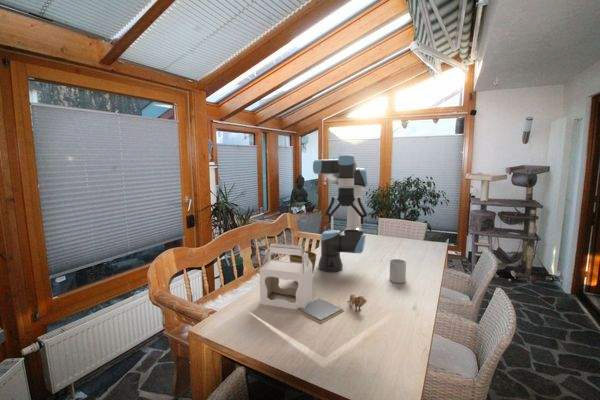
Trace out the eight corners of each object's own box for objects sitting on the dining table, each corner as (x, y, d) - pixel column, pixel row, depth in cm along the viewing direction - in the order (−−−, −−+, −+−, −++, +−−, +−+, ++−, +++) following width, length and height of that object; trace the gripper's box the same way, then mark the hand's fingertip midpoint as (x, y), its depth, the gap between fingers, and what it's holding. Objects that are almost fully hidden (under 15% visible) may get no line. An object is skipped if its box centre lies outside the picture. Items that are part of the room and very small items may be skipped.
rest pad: (295, 310, 128) (295, 308, 128) (318, 300, 138) (318, 297, 138) (321, 323, 117) (321, 320, 117) (343, 310, 127) (343, 308, 127)
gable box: (259, 304, 135) (258, 246, 132) (271, 293, 147) (270, 239, 144) (304, 311, 128) (304, 250, 125) (313, 299, 140) (312, 242, 137)
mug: (402, 284, 156) (403, 264, 155) (387, 281, 161) (387, 261, 160) (409, 277, 165) (409, 259, 164) (394, 274, 170) (395, 256, 169)
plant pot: (284, 283, 159) (283, 255, 157) (302, 275, 170) (302, 249, 168) (304, 290, 149) (303, 260, 147) (321, 282, 160) (321, 254, 158)
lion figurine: (367, 312, 125) (368, 296, 125) (359, 315, 124) (360, 299, 123) (350, 301, 136) (351, 287, 135) (343, 303, 134) (343, 288, 133)
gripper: (319, 187, 139) (319, 230, 142) (372, 188, 132) (371, 233, 135) (322, 186, 146) (322, 227, 149) (372, 186, 140) (372, 229, 142)
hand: (345, 230), depth 142 cm, fingers open, 13 cm apart
